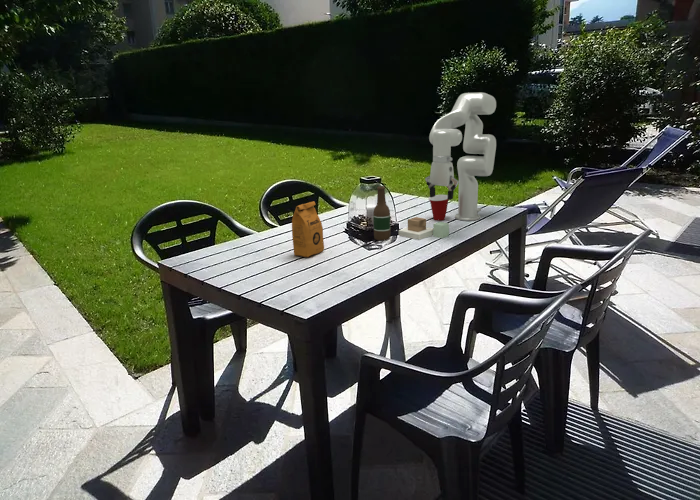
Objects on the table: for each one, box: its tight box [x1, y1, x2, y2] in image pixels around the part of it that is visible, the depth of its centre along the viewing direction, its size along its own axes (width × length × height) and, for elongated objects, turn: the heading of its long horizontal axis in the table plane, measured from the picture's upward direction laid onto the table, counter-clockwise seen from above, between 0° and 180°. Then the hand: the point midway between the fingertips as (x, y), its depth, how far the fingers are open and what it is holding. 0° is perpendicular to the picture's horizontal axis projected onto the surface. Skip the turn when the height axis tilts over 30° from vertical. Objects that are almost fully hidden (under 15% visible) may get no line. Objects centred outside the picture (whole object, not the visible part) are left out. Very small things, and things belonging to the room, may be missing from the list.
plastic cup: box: [427, 194, 450, 222], centre depth 259 cm, size 11×11×12 cm
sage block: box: [432, 221, 450, 239], centre depth 231 cm, size 5×5×6 cm
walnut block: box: [407, 216, 427, 232], centre depth 234 cm, size 6×6×5 cm
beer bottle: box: [372, 185, 391, 241], centre depth 229 cm, size 8×8×24 cm
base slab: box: [398, 226, 433, 241], centre depth 236 cm, size 12×12×2 cm
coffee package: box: [291, 201, 325, 258], centre depth 212 cm, size 10×12×22 cm
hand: (441, 198), depth 227 cm, fingers open, 9 cm apart
